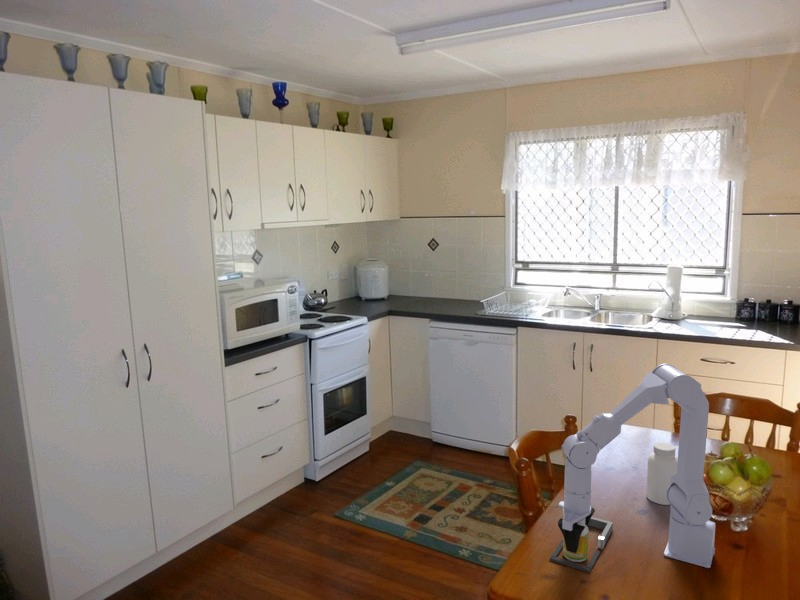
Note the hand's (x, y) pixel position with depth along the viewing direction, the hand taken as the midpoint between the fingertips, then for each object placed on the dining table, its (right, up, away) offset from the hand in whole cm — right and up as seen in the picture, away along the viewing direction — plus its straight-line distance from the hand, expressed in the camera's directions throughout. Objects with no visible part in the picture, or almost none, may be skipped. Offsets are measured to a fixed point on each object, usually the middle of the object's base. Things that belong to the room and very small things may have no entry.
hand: (575, 544), depth 137 cm
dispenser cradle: (+6, -1, +10) cm, 11 cm away
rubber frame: (0, -3, 0) cm, 3 cm away
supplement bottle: (0, -3, +1) cm, 3 cm away
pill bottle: (+31, +2, +26) cm, 40 cm away
